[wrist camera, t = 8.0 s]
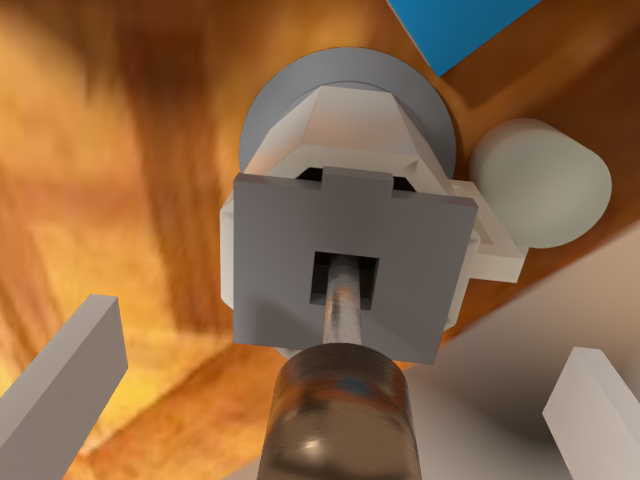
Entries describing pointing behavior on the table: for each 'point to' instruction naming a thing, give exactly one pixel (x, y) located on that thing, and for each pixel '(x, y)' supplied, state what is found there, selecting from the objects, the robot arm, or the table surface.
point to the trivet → (351, 68)
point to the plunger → (340, 402)
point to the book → (454, 26)
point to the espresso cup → (539, 182)
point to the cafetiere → (354, 227)
